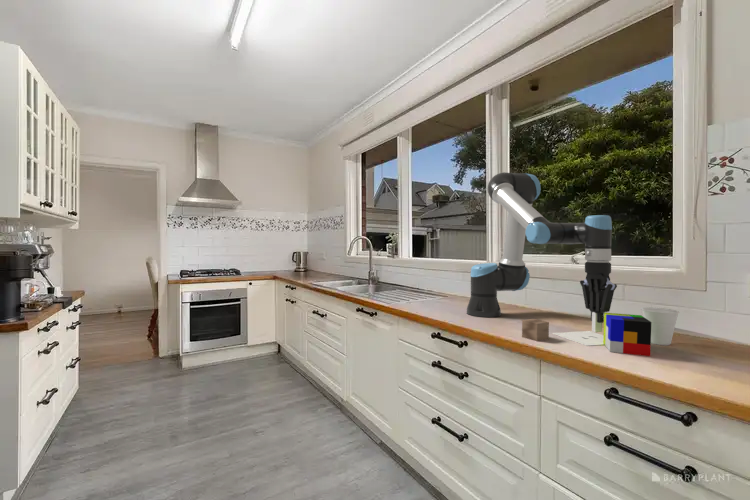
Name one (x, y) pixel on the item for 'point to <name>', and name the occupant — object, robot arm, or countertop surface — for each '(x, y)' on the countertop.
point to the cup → (661, 324)
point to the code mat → (583, 337)
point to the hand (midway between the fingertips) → (596, 331)
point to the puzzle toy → (627, 334)
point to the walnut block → (535, 329)
